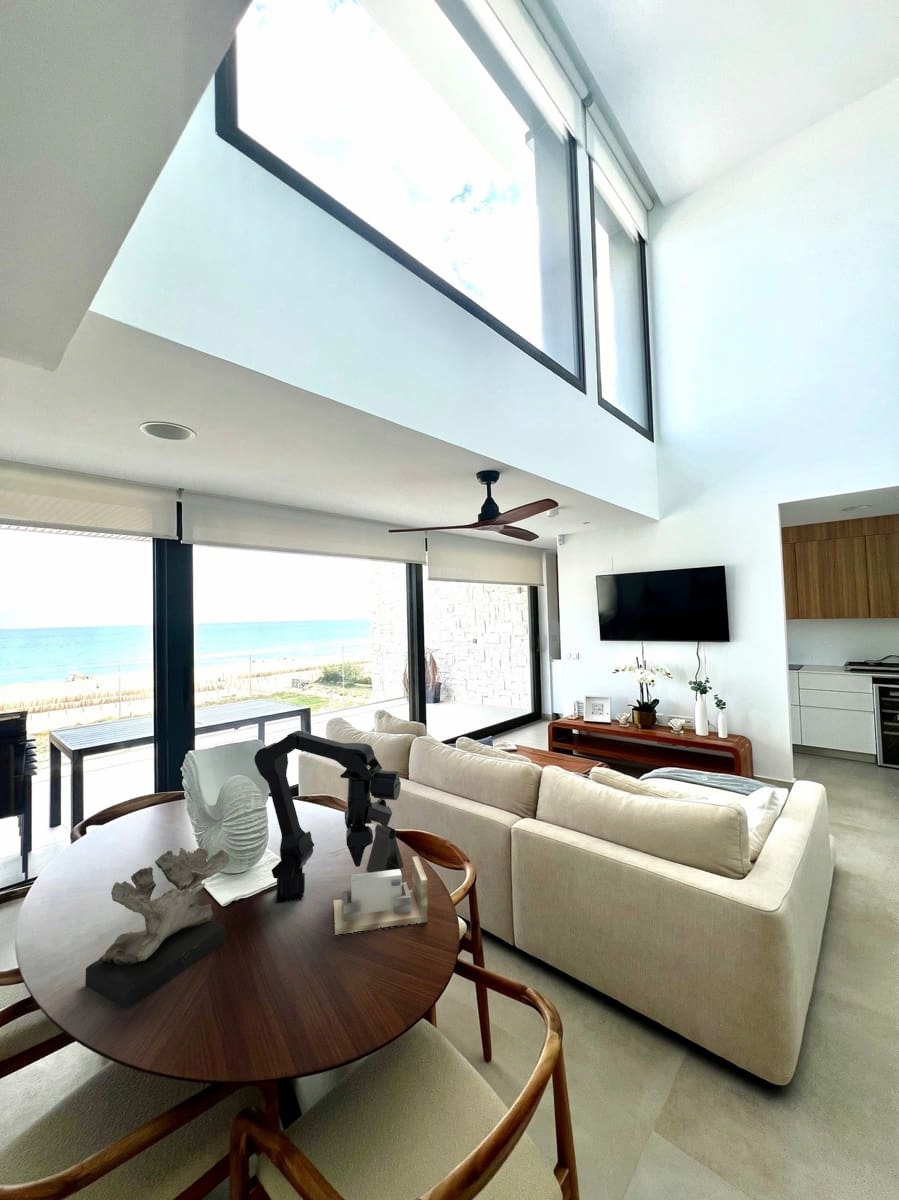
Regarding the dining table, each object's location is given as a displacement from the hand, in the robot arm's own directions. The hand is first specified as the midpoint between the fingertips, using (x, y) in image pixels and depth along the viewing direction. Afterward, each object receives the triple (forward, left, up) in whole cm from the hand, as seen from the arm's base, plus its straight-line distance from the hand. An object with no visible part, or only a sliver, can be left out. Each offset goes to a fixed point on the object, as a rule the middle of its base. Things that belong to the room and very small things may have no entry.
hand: (356, 857), depth 127 cm
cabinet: (+4, -6, -12) cm, 14 cm away
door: (+4, -6, -10) cm, 12 cm away
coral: (-38, -13, -12) cm, 42 cm away
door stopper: (+9, +16, -12) cm, 22 cm away
